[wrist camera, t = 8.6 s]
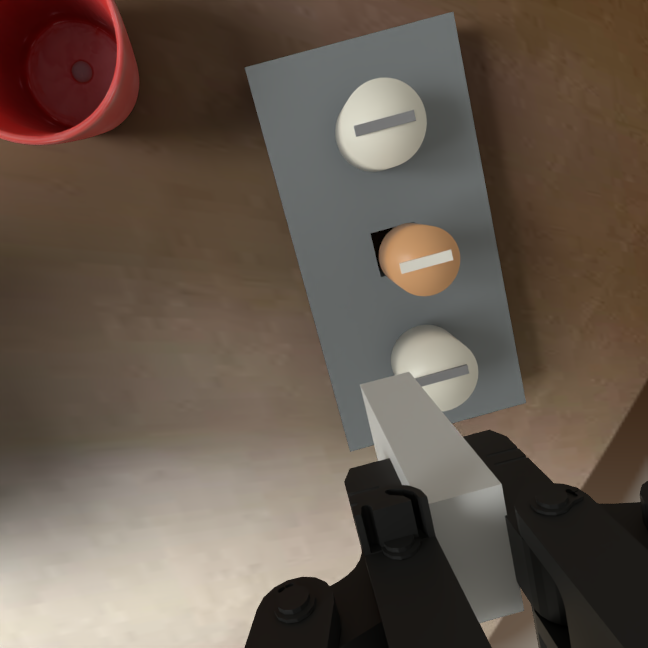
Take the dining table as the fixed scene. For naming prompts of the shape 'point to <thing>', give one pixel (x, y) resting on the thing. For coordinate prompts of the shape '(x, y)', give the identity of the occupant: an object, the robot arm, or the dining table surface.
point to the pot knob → (419, 258)
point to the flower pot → (64, 70)
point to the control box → (387, 213)
